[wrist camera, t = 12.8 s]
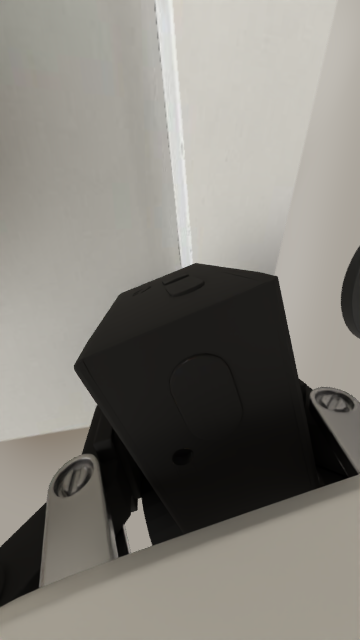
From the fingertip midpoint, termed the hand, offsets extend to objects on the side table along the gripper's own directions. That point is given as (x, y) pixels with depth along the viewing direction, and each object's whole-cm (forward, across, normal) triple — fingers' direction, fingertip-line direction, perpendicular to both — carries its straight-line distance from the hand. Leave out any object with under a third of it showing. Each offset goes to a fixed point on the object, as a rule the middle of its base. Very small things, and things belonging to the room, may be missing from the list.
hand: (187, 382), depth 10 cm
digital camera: (+2, 0, 0) cm, 2 cm away
